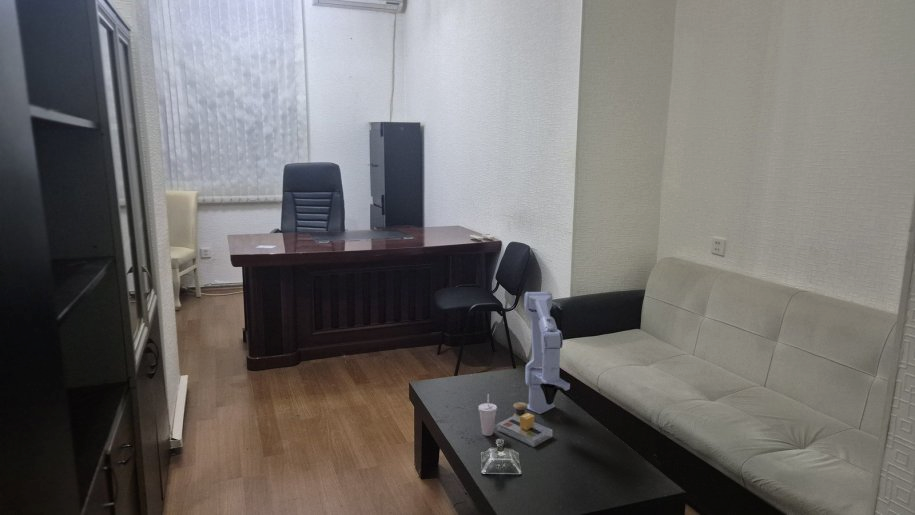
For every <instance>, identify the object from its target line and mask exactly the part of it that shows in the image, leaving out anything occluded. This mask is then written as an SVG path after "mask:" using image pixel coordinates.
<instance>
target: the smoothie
mask: <svg viewBox="0 0 915 515" xmlns="http://www.w3.org/2000/svg"><path fill="white" fill-rule="evenodd" d="M486 398H487V399H486V400H487V402H486V403H485V402H484V403H481V404H479V405H478V411H479V419H480V427H481V434H482V435H483V436H486V437H488V436H493V434H494V428H495V421H496V412H497V411H498V406H497V405H496V404H494V403H492V402H491V403H490V394H489V393H487V397H486Z"/></svg>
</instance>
